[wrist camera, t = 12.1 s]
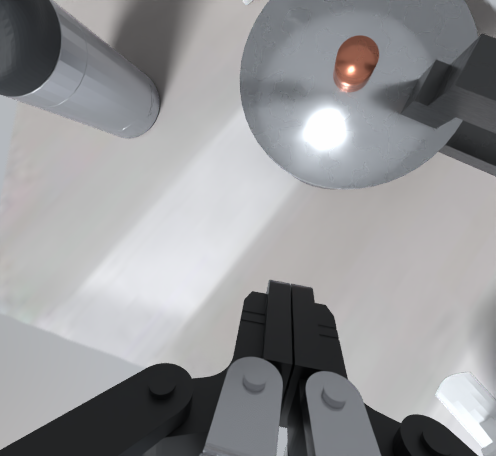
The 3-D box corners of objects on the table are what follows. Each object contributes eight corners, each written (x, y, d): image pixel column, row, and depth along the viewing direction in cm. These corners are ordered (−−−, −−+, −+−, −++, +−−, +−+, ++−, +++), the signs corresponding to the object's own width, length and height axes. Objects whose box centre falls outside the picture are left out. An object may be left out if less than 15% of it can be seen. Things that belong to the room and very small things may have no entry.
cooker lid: (211, 138, 30) (172, 112, 21) (298, -67, 27) (295, -194, 18) (506, 274, 26) (606, 309, 17) (644, 53, 23) (846, -36, 15)
